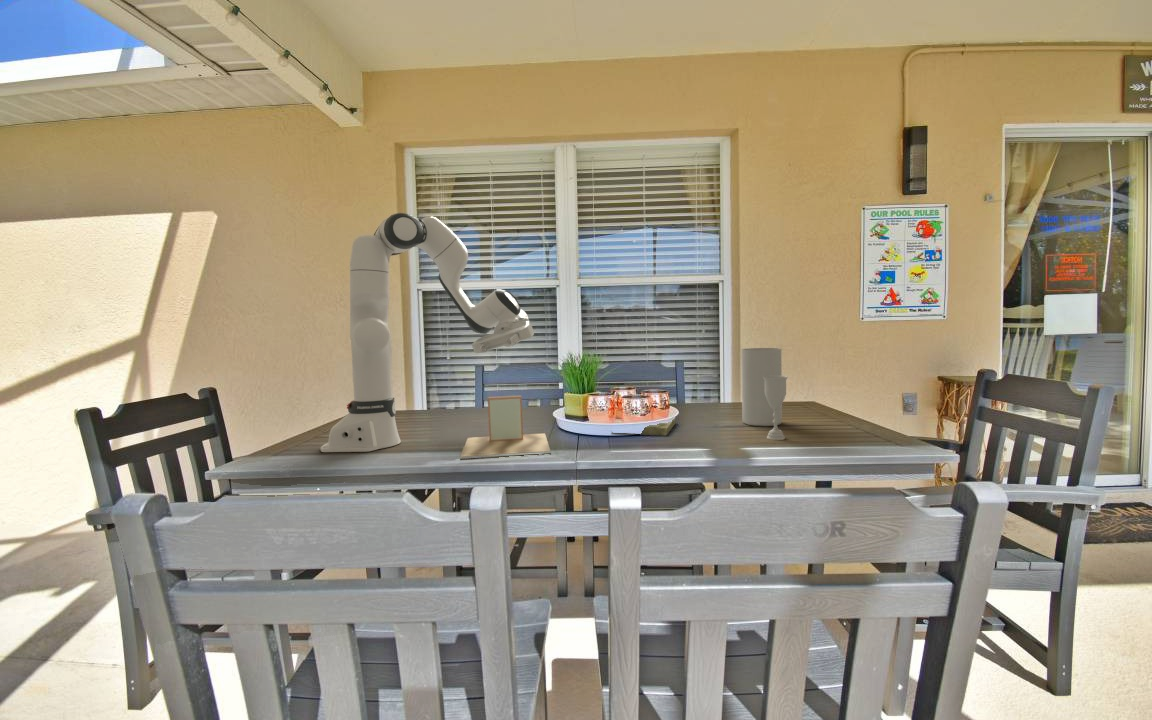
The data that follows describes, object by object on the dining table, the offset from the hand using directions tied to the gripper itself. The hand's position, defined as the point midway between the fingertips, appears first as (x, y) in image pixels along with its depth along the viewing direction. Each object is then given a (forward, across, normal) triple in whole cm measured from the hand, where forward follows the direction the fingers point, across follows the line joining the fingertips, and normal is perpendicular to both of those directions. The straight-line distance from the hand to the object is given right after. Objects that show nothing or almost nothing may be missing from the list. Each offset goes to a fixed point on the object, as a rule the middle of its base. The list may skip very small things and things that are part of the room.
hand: (496, 346), depth 157 cm
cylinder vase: (-16, +72, +56) cm, 92 cm away
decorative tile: (-8, +34, +44) cm, 56 cm away
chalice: (+6, +73, +49) cm, 88 cm away
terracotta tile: (+13, -3, +26) cm, 29 cm away
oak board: (+19, -1, +25) cm, 32 cm away
